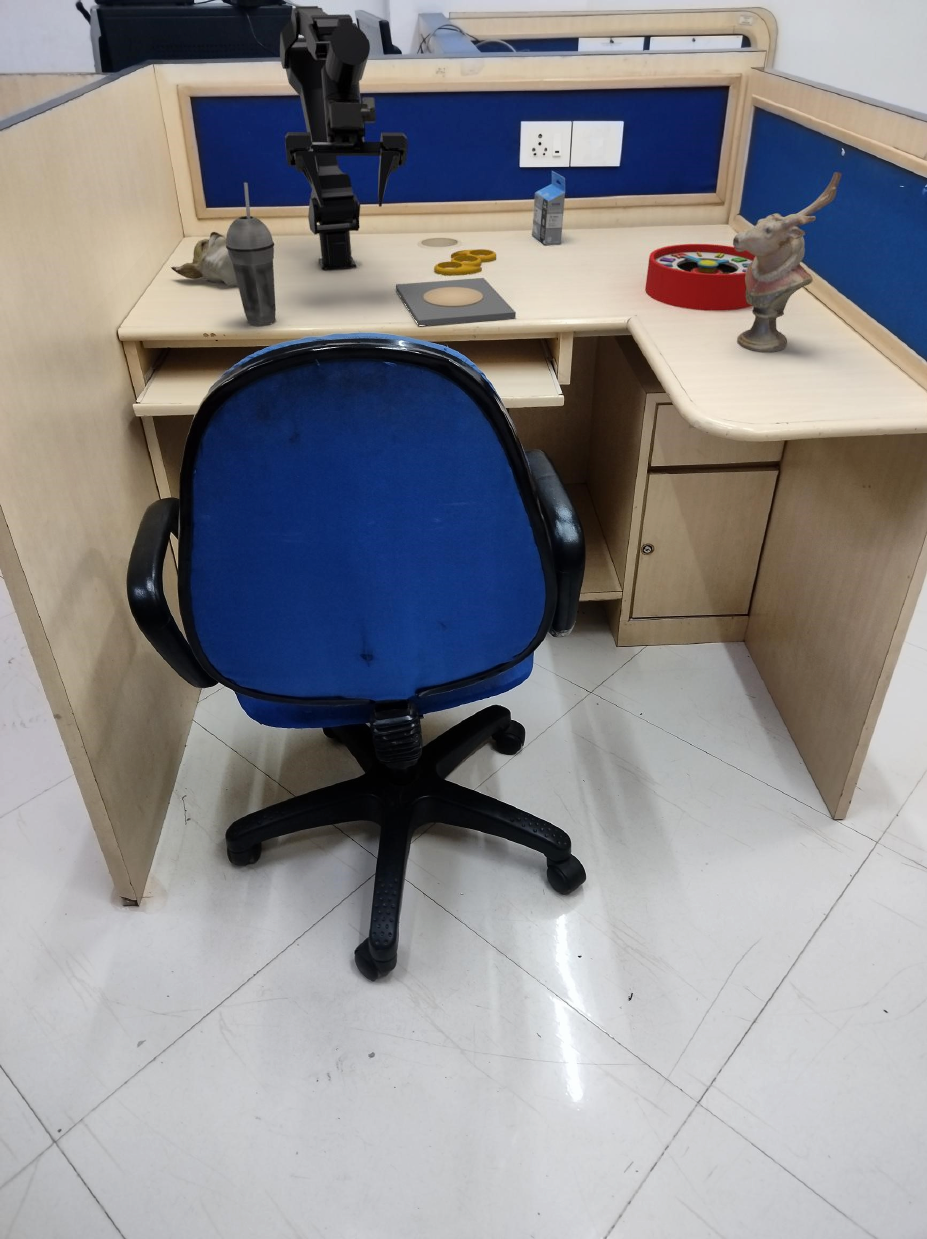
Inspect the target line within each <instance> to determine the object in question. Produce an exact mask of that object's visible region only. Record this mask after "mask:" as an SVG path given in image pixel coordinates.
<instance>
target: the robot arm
mask: <svg viewBox="0 0 927 1239" xmlns="http://www.w3.org/2000/svg"><path fill="white" fill-rule="evenodd" d="M290 16H291V18H290V20H289V21H288V22H287V23H286V24H285V26H284V27H283V29H282V30H281V31H280V37H279V42H280V43H279V57H280V63H281V68H282V70H285V72H286V77H287V80H288V81H287V82H288V85H290V86H291V87H292V89H293V90H294V91H295V92H296V93H297V94H298V96H299V97H300V102H301V108H302V111H303V117H304V122H305V126H306V127H305V128H306V131H305V132H304V131H303V132H302V131H299V132H298V131H297V132H293V131H290V132H289V131H288V132H287V133H286V135H285V136H284V142H285V143H284V144H285V153H286V154H285V155H286V165H287V166H288V167H291V168H292V167H295V171H296V172H298V173H299V172H300V173H303V175H304V177H305V179H306V181H308V183H309V185H310V187H311V193H310V198H309V204H308V213H307V214H308V219H307V220H308V225H309V230H310V231H311V232H312V233H313V235H319V245H320V253H321V254H320V256H321V257H319V258H318V263H319V266H320V267H321V270H331V269H332V270H335V269H337V270H338V269H349V268H351V269H352V268H357V263H356V262H355V260H354V258H353V256H352V246H351V245H352V244H351V243H352V242H351V235H350V234H351V232H353V231H354V232H359V229H360V212H361V203H360V202H359V200H358V197H357V195H356V194H354V191H353V186H352V180H351V177H350V175H349V174H348V173H344V172H342V170H341V169H340V166H339V160H338V157H379V166H378V185H377V186H378V187H377V188H378V189H377V190H378V191H377V202H378V208H379V207H381V208H382V205H383V202H384V201H383V200H384V196H385V192H386V191H385V190H386V187H387V183H388V180H389V178H390V175H391V173H392V172H396V171H398V167H403V166H405V165H406V160H407V157H408V151H409V149H408V147H409V146H408V138H407V136H406V135H405V133H403V132H381V133H380V140H379V141H365V137H366V124H374V123H375V122H376V121H377V119H376V118H377V116H376V113H377V112H376V101H375V97H369V96H368V97H367V96H366V97H362V98H361V89H360V81H362V79H363V78H364V74H365V73H364V72H365V69H366V66H367V62H368V60H369V56H370V51H371V47H370V46H371V45H370V44H371V43H370V40H369V39H368V37H367V35H366V34H365V32H364V31H363V30H362V29H361V28H359V26H358V25H357V23H356V22H354V20H353V18H352V16H351V14H328V13H326V12H325V11H324V10H323V8H322V7H319V6H318V5H301V6H298V5H297V6H295V7H293V8H292V9H291V15H290ZM299 36H301V37H299Z"/></svg>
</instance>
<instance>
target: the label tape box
mask: <svg viewBox="0 0 927 1239" xmlns="http://www.w3.org/2000/svg"><path fill="white" fill-rule="evenodd" d="M557 181H558V182H560V184H559V183H557ZM565 198H566V178H565V177H564V176H562V175H561V174H559V173H557V172H555V171H553V170H551V183H550V184H549V185H547V186H545V187H543V188H541V189H539V190H537V191H536V192H535V193H534V200H533V201H534V203H533V214H532V215H533V218H532V228H531V230H532V231H531V235H532V236H533V237H534V238H535V239H537V240H539V242H540V243H542V244H543V245H549V246H557V245H561V244H562V235H563V233H562V232H563V223H564V222H563V221H564V213H565V212H564V211H565V210H564V209H565Z"/></svg>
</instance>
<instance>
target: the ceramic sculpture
mask: <svg viewBox="0 0 927 1239" xmlns="http://www.w3.org/2000/svg"><path fill="white" fill-rule="evenodd" d="M170 269H171V270H172V271H174V272H175V273H176V274H178V275H180V276H181V277H185V278H186V279H189V280H196V279H205V280H206V281H208V282H209V281H210V282H213V283H214V282H216V283H221V282H224V283H225V284H226V285H227V286H230V287H238V284H237V280H236V276H235V272H234V268H233V264H232V261H231V259H230V256H229V254H228V249H227V248H226V236H224V234H222V233H221V234H220V233H219V232H217V231H212V232H210V236H209V237H207V238H203V239H200V240H198V241H197V243H196V244H195V246H194V249H193V258H192V261H191V262H186V263H184V264H182V265H180V266H171V267H170Z"/></svg>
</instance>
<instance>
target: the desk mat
mask: <svg viewBox="0 0 927 1239" xmlns="http://www.w3.org/2000/svg"><path fill="white" fill-rule="evenodd" d="M396 290H397V291H396ZM395 291H396V293H397V292H398V293H397V294H398V296H399V295H400V296H401V298H400V300H401V301H402V300H403V301H404V302H403V301H402V302H403V304H404V303H405V304H406V306H407V307H406V306H405V307H406V309H407V308H408V309H409V310H408V309H407V310H408V312H409V311H410V312H411V314H412V315H411V314H410V315H411V317H412V316H413V317H414V319H415V320H416V321H417V323H418V325H431V326H430V327H433V326H434V327H435V326H443V325H445V326H446V325H455V324H469V323H479V322H489V321H502V320H514V319H516V317H517V316H516V314H517V312H516V311H515V310H514V308H512V307H511V306H510V304H508V302H507V301H506V300H505V299H504V298H503V296H501V295H500V293H498V291H496V289H495V288H493V286H492V285H491V284H490V283H489V282H488V281H487V279H485V278H484V277H478V278H475V277H474V278H463V279H451V280H437V281H436V280H435V281H425V282H412V283H411V282H410V283H398V284H397V283H396V284H395ZM400 296H399V297H400ZM405 304H404V305H405ZM410 312H409V313H410ZM413 317H412V318H413ZM414 319H413V320H414ZM415 320H414V321H415ZM417 323H416V324H417ZM418 325H417V326H418ZM432 325H433V326H432Z"/></svg>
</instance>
